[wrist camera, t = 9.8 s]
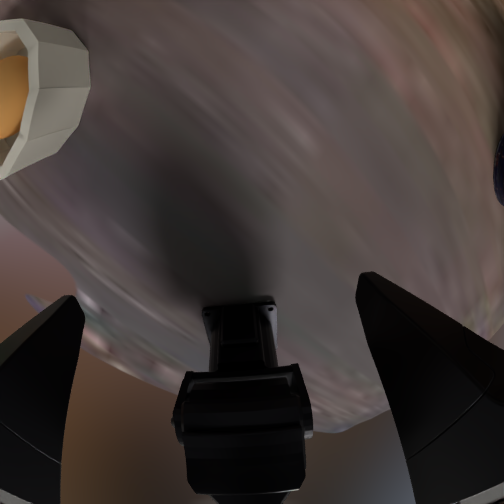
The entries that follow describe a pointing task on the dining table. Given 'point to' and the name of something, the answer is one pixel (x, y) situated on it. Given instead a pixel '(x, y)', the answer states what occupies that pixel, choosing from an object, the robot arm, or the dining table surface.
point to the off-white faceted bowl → (44, 90)
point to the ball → (12, 93)
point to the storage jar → (499, 172)
